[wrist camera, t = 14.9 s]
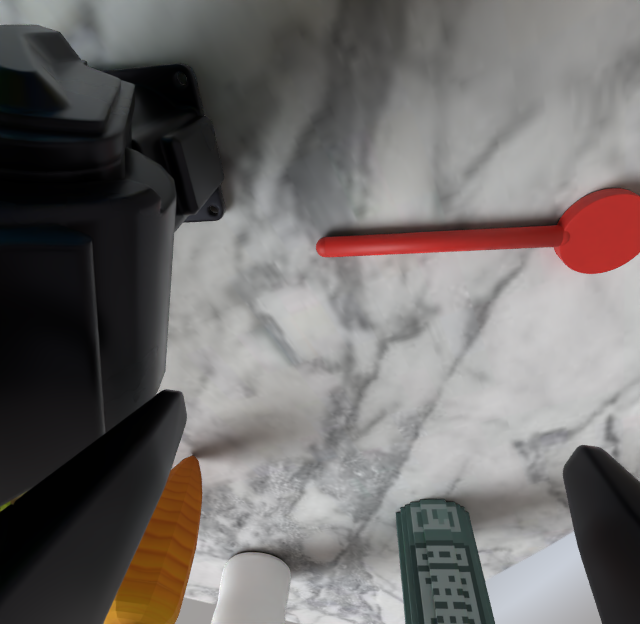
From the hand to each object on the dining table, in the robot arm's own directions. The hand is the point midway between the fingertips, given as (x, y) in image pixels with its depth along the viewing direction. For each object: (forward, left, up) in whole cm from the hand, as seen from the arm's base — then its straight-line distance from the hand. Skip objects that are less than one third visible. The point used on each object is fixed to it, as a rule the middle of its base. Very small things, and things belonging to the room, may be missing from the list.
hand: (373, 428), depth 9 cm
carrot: (-14, -19, -13) cm, 27 cm away
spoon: (+6, -1, -13) cm, 14 cm away
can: (+5, -28, -13) cm, 31 cm away
